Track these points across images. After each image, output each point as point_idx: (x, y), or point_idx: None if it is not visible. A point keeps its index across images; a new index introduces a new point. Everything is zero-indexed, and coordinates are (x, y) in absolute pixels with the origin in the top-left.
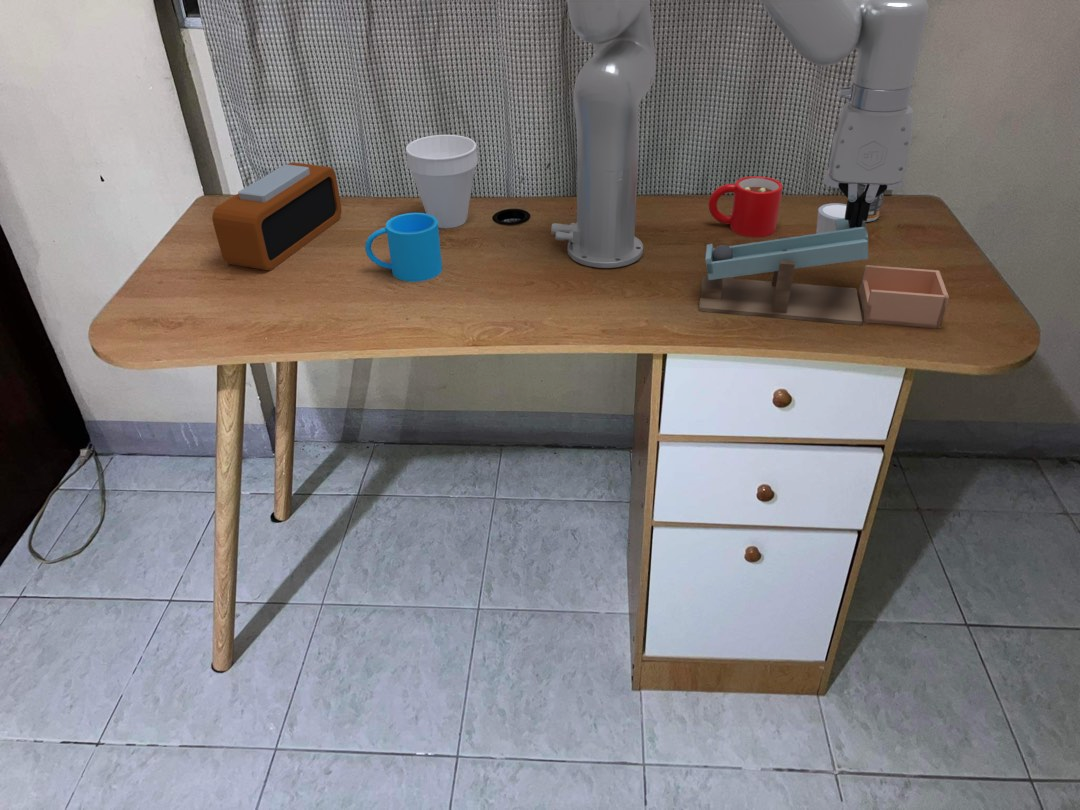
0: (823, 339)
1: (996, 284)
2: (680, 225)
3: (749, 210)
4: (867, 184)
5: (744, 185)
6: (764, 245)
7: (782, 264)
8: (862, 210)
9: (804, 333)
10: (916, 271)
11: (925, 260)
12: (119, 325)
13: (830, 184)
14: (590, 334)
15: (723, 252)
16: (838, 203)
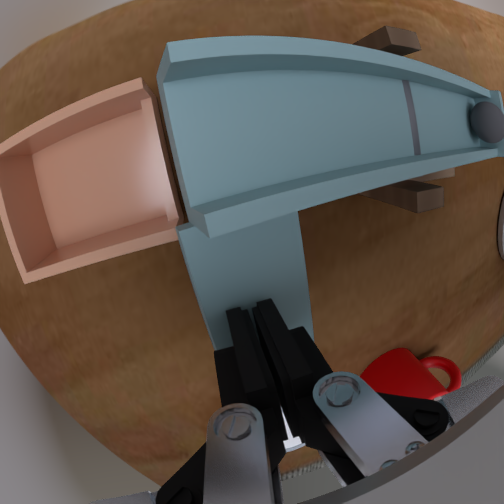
0: (230, 10)
1: (14, 348)
2: (460, 327)
3: (420, 374)
4: (278, 497)
5: None
6: (458, 152)
7: (410, 32)
8: (250, 359)
9: (269, 19)
10: (58, 261)
11: (115, 392)
12: None
13: (473, 390)
14: (483, 23)
15: (496, 107)
16: (292, 450)
